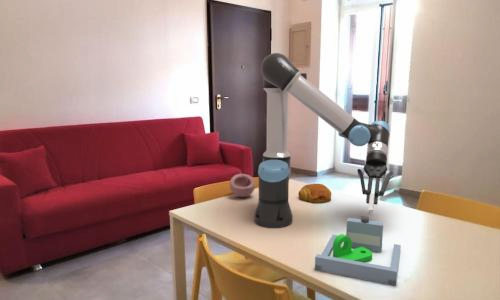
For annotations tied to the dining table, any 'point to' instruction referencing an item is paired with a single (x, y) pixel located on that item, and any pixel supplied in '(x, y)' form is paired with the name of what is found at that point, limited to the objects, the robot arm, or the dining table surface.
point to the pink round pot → (242, 185)
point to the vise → (358, 266)
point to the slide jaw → (365, 233)
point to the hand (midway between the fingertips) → (370, 211)
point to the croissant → (315, 193)
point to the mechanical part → (346, 252)
